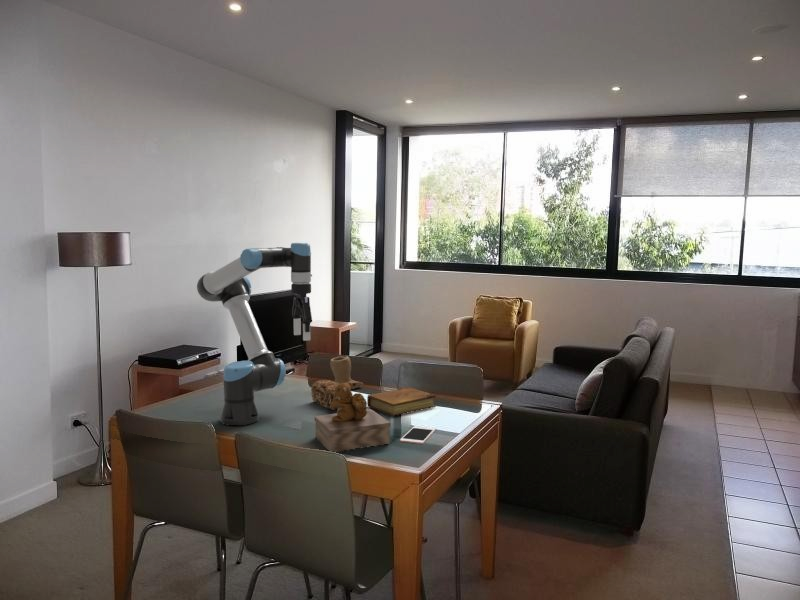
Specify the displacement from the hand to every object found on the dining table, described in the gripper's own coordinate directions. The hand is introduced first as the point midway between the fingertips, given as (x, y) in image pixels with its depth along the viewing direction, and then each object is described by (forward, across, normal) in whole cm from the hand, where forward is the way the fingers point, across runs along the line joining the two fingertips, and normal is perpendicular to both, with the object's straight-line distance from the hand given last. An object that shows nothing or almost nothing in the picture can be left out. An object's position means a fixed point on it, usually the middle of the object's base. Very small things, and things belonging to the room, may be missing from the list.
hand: (301, 337), depth 248 cm
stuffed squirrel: (+27, -25, -11) cm, 38 cm away
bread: (+35, +23, -19) cm, 46 cm away
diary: (+35, +8, -46) cm, 59 cm away
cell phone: (+35, -30, -36) cm, 59 cm away
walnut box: (+35, -26, -11) cm, 45 cm away
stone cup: (+35, +50, -35) cm, 70 cm away
